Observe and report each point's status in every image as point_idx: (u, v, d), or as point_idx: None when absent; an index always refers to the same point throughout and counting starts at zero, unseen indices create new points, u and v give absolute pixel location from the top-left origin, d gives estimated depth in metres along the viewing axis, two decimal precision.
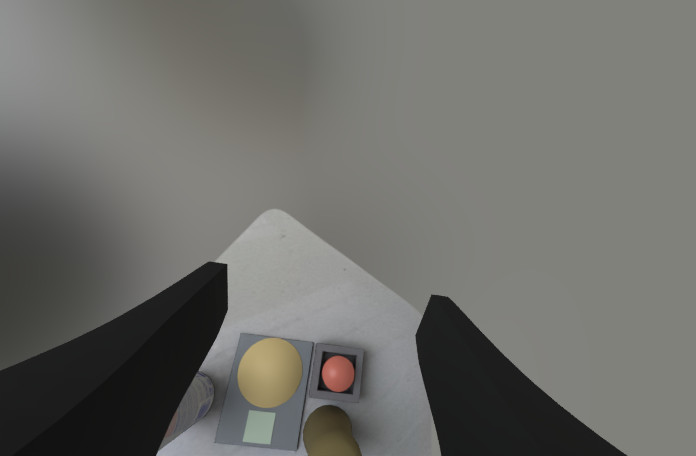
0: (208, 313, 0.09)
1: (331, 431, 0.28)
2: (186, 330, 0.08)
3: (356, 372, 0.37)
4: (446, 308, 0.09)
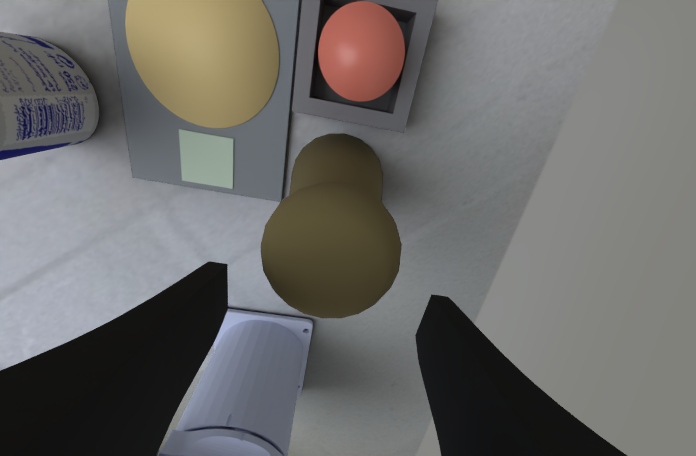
0: (208, 313, 0.09)
1: (323, 188, 0.10)
2: (186, 330, 0.08)
3: (408, 61, 0.14)
4: (446, 308, 0.09)
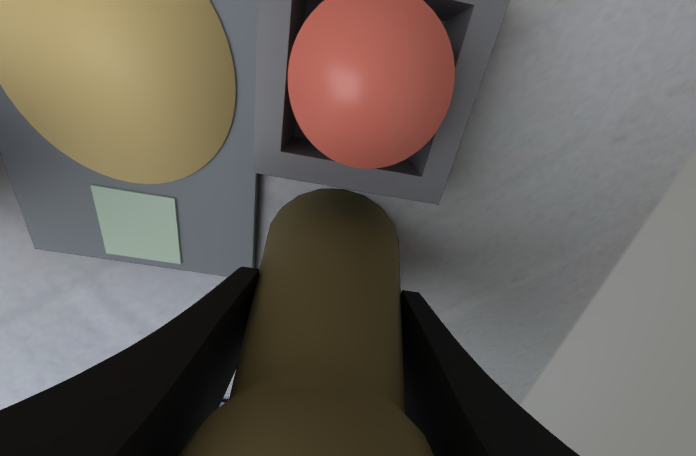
0: (244, 318, 0.09)
1: None
2: (227, 335, 0.08)
3: (453, 92, 0.08)
4: (414, 303, 0.09)
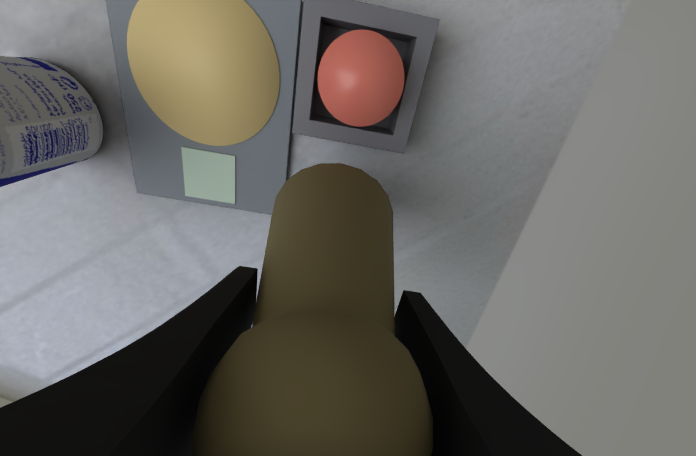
0: (242, 318, 0.09)
1: (293, 357, 0.05)
2: (225, 335, 0.08)
3: (408, 84, 0.14)
4: (415, 304, 0.09)
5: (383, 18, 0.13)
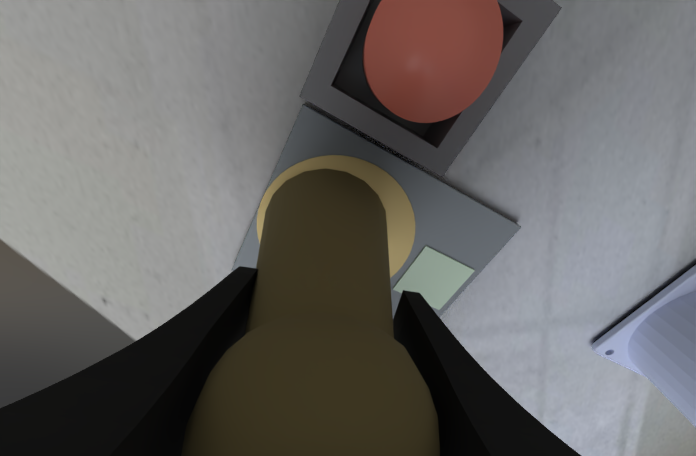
0: (242, 318, 0.09)
1: (273, 367, 0.05)
2: (225, 335, 0.08)
3: None
4: (415, 304, 0.09)
5: None
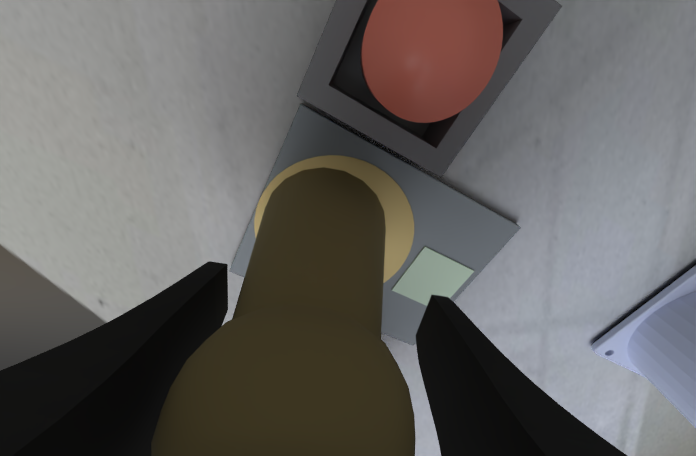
0: (208, 313, 0.09)
1: (242, 354, 0.05)
2: (186, 330, 0.08)
3: None
4: (446, 308, 0.09)
5: None
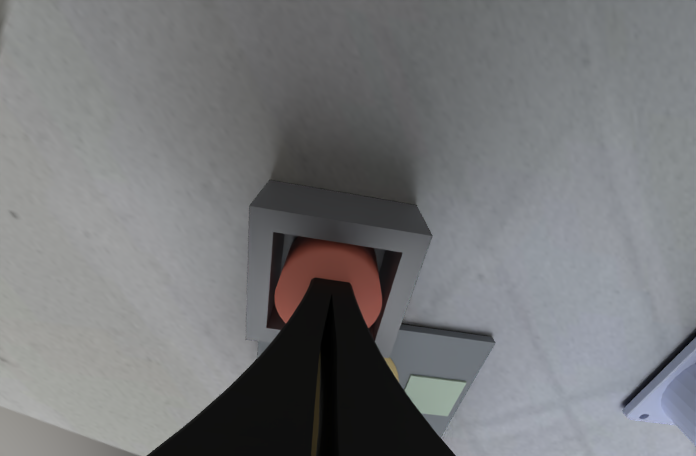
0: (324, 329, 0.09)
1: None
2: (320, 347, 0.08)
3: (332, 237, 0.10)
4: (337, 292, 0.09)
5: (258, 270, 0.10)
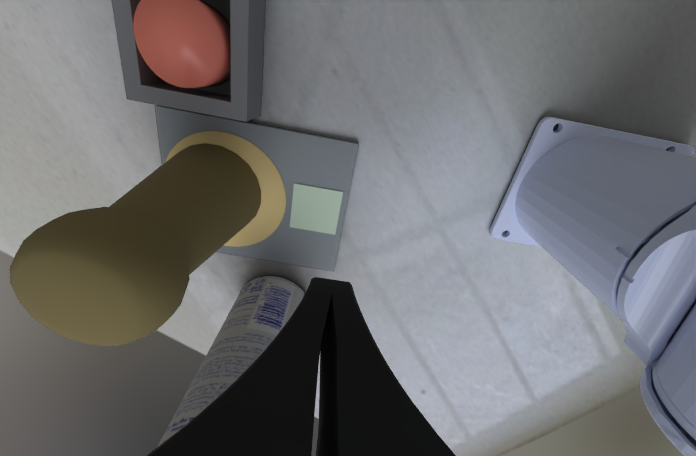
0: (324, 329, 0.09)
1: (39, 228, 0.10)
2: (320, 347, 0.08)
3: None
4: (337, 292, 0.09)
5: (122, 16, 0.13)
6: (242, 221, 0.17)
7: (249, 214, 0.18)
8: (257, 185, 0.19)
